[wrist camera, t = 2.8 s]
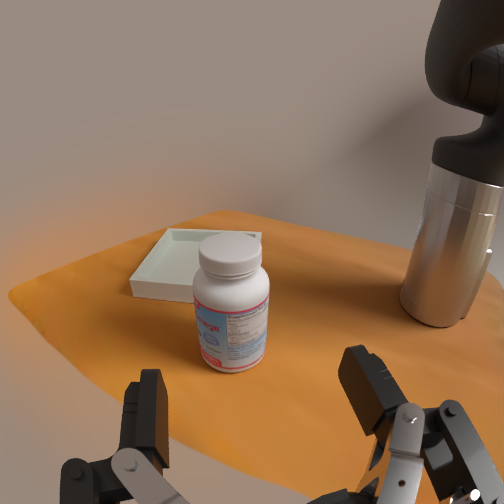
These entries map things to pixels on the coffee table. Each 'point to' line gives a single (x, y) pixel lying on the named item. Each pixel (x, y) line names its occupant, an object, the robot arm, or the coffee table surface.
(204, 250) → the pill bottle
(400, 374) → the coffee table surface
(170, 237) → the tray
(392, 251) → the coffee table surface
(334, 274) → the coffee table surface
